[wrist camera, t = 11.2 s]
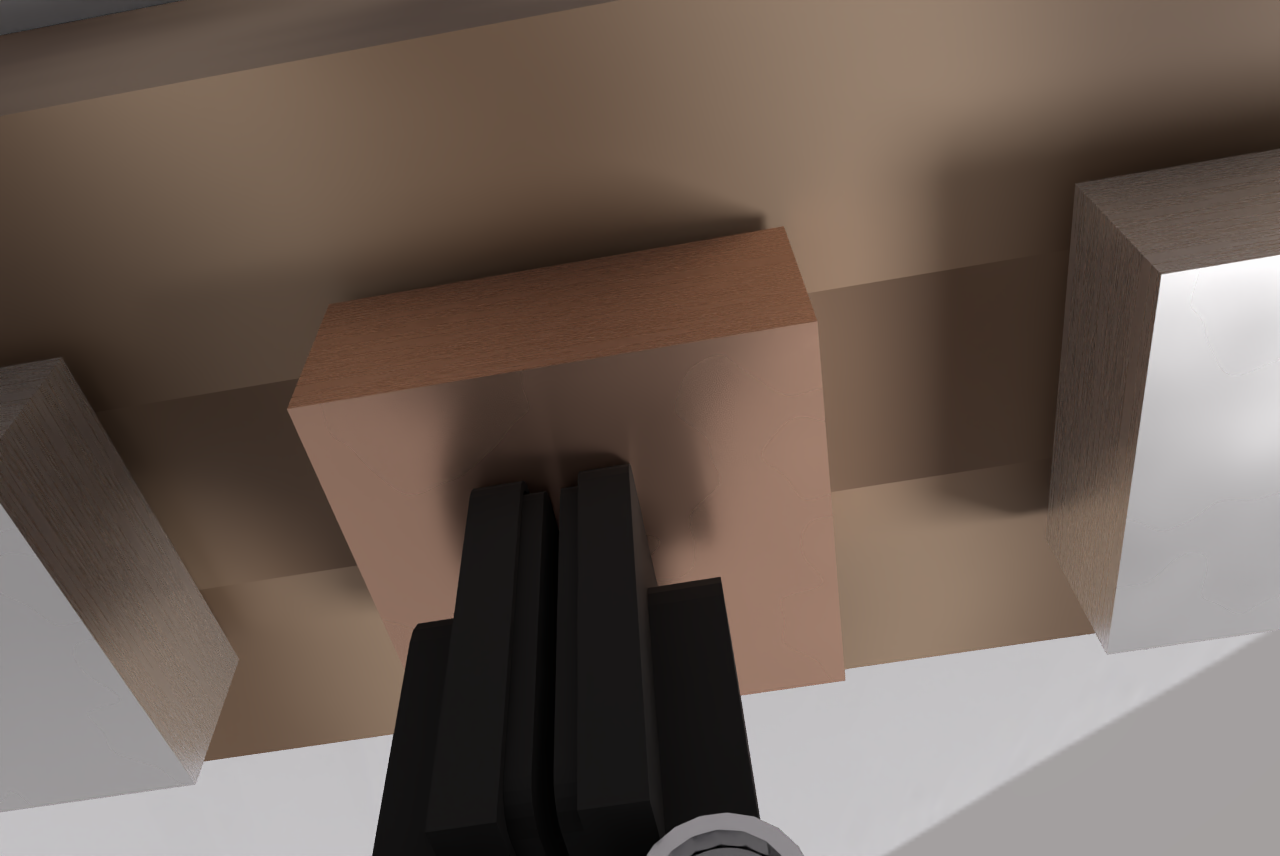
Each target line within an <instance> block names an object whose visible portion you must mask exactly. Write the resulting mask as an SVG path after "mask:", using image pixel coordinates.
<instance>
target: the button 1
mask: <svg viewBox="0 0 1280 856" xmlns="http://www.w3.org/2000/svg"><path fill="white" fill-rule="evenodd" d="M238 661H239V658H238V656H237V655H236V653H235V651H234V649H233V648H232V646H231V644H230V643H229V641H228V639H227V638H226V636H225V634H224V632H223V631H222V629H221V627H220V626H219V624H218V622H217V620H216V619H215V617H214V615H213V614H212V612H211V610H210V608H209V607H208V605H207V603H206V602H205V600H204V598H203V597H202V595H201V593H200V591H199V590H198V588H197V586H196V585H195V583H194V581H193V579H192V578H191V576H190V574H189V573H188V571H187V569H186V568H185V566H184V564H183V562H182V561H181V559H180V557H179V556H178V554H177V552H176V550H175V549H174V547H173V545H172V544H171V542H170V540H169V538H168V537H167V535H166V533H165V532H164V530H163V528H162V527H161V525H160V523H159V521H158V520H157V518H156V516H155V515H154V513H153V511H152V509H151V508H150V506H149V504H148V503H147V501H146V499H145V497H144V496H143V494H142V492H141V491H140V489H139V487H138V486H137V484H136V482H135V480H134V479H133V477H132V475H131V474H130V472H129V470H128V468H127V467H126V465H125V463H124V462H123V460H122V458H121V457H120V455H119V453H118V451H117V450H116V448H115V446H114V445H113V443H112V441H111V439H110V438H109V436H108V434H107V433H106V431H105V429H104V427H103V426H102V424H101V422H100V421H99V419H98V417H97V416H96V414H95V412H94V410H93V409H92V407H91V405H90V404H89V402H88V400H87V398H86V397H85V395H84V393H83V392H82V390H81V388H80V387H79V385H78V383H77V381H76V380H75V378H74V376H73V375H72V373H71V371H70V369H69V368H68V366H67V364H66V363H65V361H64V359H63V357H58V358H52V359H46V360H40V361H34V362H28V363H23V364H17V365H11V366H5V367H0V812H5V811H12V810H19V809H26V808H33V807H40V806H47V805H54V804H61V803H68V802H75V801H82V800H89V799H96V798H103V797H110V796H117V795H124V794H131V793H138V792H145V791H152V790H159V789H166V788H173V787H181V786H188V785H195V784H196V782H197V779H198V776H199V773H200V770H201V767H202V765H203V762H204V759H205V756H206V753H207V750H208V747H209V744H210V742H211V739H212V736H213V733H214V730H215V727H216V724H217V721H218V719H219V716H220V713H221V710H222V707H223V704H224V701H225V698H226V696H227V693H228V690H229V687H230V684H231V681H232V678H233V676H234V673H235V670H236V667H237V664H238Z"/></svg>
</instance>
